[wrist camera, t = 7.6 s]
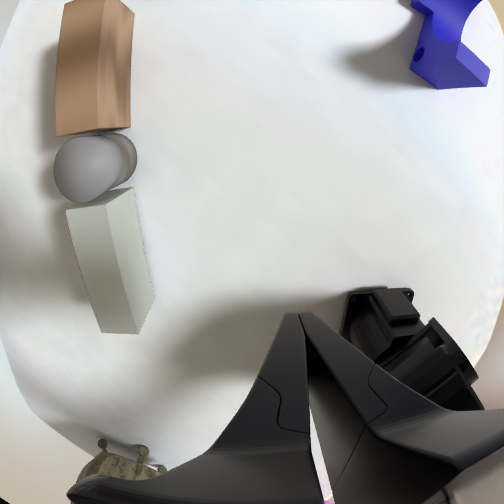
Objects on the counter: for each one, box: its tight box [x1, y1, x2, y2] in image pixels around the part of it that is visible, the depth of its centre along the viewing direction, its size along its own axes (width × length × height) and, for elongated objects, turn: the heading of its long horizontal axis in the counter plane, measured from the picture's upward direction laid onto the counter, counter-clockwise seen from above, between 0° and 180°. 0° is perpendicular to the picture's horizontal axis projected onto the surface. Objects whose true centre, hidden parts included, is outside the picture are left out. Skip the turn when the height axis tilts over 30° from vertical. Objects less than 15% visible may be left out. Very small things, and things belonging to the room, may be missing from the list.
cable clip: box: [409, 0, 490, 90], centre depth 11 cm, size 12×4×6 cm, turn 159°
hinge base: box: [55, 0, 137, 189], centre depth 14 cm, size 13×4×5 cm, turn 0°
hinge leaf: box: [54, 135, 155, 334], centre depth 18 cm, size 13×4×5 cm, turn 3°
